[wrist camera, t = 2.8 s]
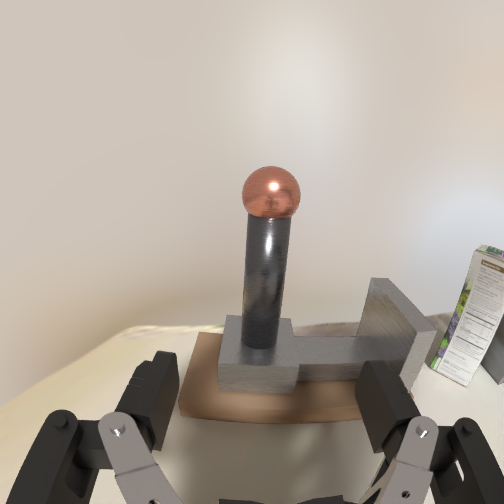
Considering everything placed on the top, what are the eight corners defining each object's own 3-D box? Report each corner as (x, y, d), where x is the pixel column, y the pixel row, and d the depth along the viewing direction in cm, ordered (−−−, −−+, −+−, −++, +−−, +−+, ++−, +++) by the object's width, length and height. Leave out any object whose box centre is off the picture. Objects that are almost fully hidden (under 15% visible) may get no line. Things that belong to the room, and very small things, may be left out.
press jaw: (372, 335, 28) (404, 183, 23) (406, 396, 19) (471, 200, 14) (227, 331, 28) (234, 163, 23) (216, 403, 19) (219, 163, 14)
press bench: (474, 339, 29) (495, 283, 26) (510, 379, 20) (541, 316, 17) (199, 346, 29) (197, 270, 26) (180, 415, 20) (168, 329, 17)
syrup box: (443, 348, 28) (478, 241, 24) (477, 366, 24) (520, 257, 19) (428, 368, 25) (471, 247, 21) (467, 389, 21) (521, 266, 16)
